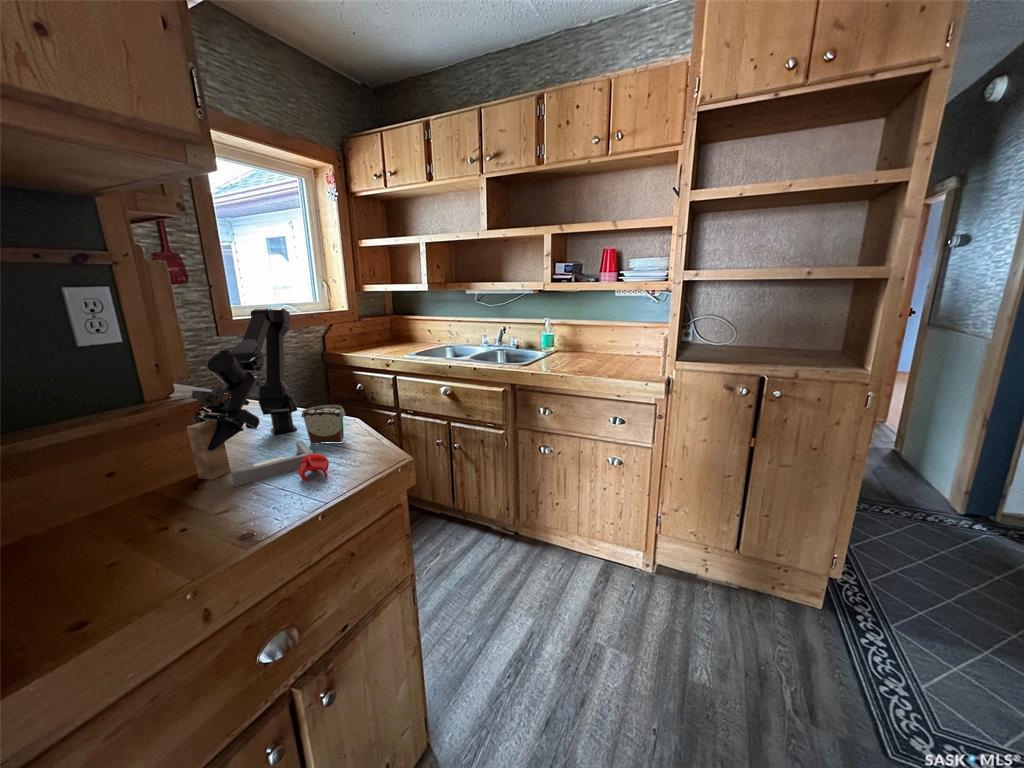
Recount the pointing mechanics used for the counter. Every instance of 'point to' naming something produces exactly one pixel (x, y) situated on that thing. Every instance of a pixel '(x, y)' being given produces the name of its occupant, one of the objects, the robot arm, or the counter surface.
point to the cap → (313, 465)
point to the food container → (324, 423)
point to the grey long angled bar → (271, 467)
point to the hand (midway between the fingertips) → (202, 449)
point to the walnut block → (207, 451)
